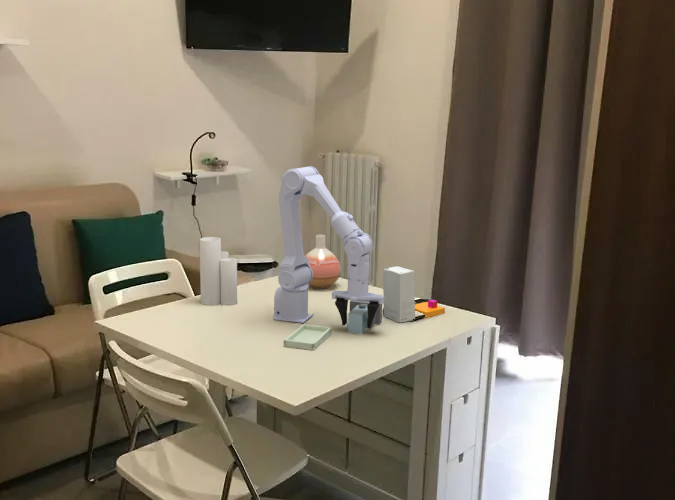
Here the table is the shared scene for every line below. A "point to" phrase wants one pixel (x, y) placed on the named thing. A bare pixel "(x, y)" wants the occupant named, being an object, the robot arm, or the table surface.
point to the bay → (378, 313)
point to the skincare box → (399, 293)
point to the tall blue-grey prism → (358, 319)
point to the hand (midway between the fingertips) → (357, 325)
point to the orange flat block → (429, 308)
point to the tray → (307, 337)
